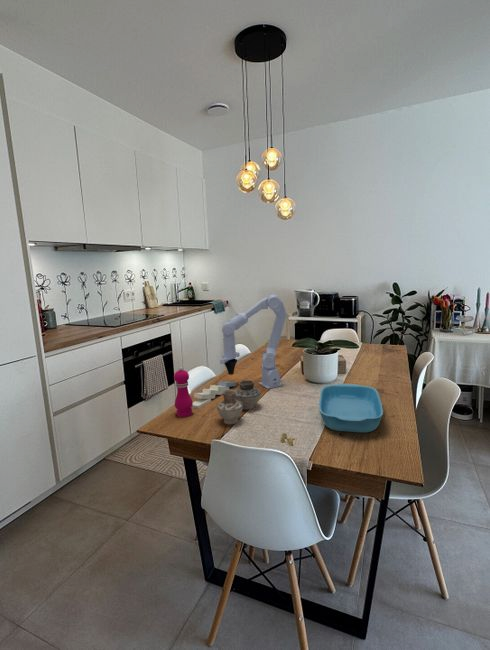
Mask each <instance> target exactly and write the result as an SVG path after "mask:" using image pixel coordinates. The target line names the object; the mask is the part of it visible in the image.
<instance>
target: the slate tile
mask: <svg viewBox="0 0 490 650" xmlns="http://www.w3.org/2000/svg"><path fill="white" fill-rule="evenodd" d="M217 382H218V383H217V385H218V386H224V387H229V388H231V387H236V386H237V382H234V381H230V380H229V381H227V380H225V381H217Z"/></svg>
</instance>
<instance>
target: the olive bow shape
mask: <svg viewBox="0 0 490 650" xmlns="http://www.w3.org/2000/svg"><path fill="white" fill-rule="evenodd" d="M281 434H282V436H281V437H280V443H286V442H285V441H287V443H288V446H293V445H294V440H296V438H295V437H289V436H288V437H287V435H288V434H287V433H286V432H282V433H281Z"/></svg>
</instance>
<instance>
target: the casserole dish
mask: <svg viewBox="0 0 490 650" xmlns="http://www.w3.org/2000/svg"><path fill="white" fill-rule="evenodd" d="M318 402H319V403H318V410H319V413H320V416H321V419H322V421H323V423H324V425H325V426H326V427H327V428H329V429H330V430H332V431H338V432H347V433H348V432H351V433H363V434H365V433H371V432H373V431H374V430H376V429H378V426H379V425H380V423H381V420H382V417H383V415H384V409H383V405H382V401H381V397H380V394H379V392H378V390H377V389H376V388H374V387H373V386H372V387H371V386H367V385H361V384H356V383H339V384H338V383H337V384H328V385H325V386H323V387H322V389H321V390H320V395H319V401H318Z"/></svg>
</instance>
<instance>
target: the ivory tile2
mask: <svg viewBox="0 0 490 650" xmlns="http://www.w3.org/2000/svg"><path fill="white" fill-rule="evenodd" d="M209 389H213V390H218V391H225V390H230V387H224V386H218V384H217V385H216V384H215V385H214V384H209Z"/></svg>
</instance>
